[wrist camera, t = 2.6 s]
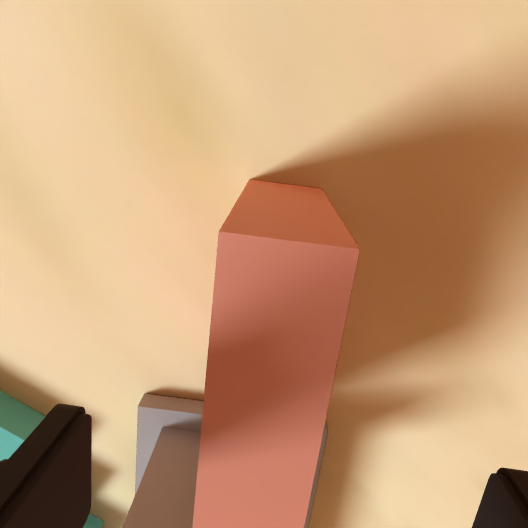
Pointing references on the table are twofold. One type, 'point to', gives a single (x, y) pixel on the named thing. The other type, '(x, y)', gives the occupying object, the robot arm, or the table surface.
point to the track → (173, 463)
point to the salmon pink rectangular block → (271, 355)
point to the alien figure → (22, 433)
